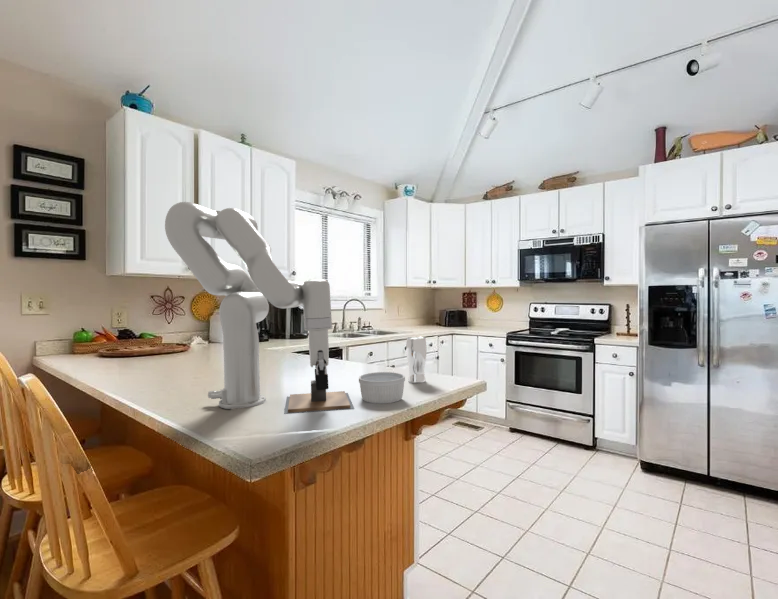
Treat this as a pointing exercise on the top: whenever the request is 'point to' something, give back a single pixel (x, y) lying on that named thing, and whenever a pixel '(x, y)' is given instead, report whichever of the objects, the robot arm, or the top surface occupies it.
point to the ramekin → (382, 387)
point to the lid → (318, 400)
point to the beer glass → (416, 358)
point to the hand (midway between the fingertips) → (321, 385)
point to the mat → (317, 410)
